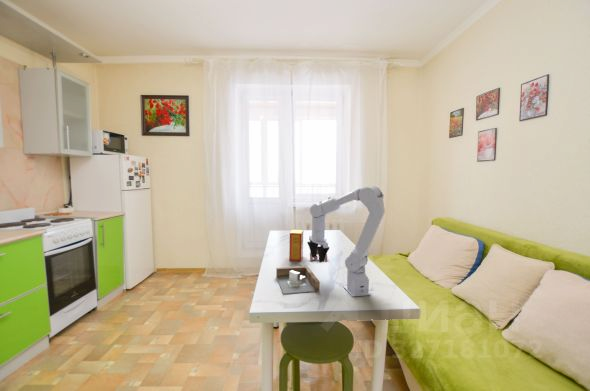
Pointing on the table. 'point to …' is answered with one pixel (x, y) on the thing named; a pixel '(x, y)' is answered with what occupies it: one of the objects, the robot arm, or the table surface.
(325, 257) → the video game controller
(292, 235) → the baking soda box
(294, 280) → the aluminium bracket
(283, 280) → the mat
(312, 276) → the corner walls
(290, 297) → the table surface
